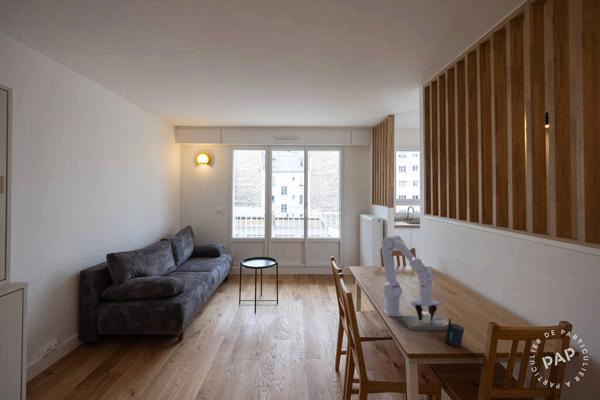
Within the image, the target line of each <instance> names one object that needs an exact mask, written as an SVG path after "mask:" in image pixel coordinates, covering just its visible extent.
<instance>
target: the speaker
mask: <svg viewBox="0 0 600 400" xmlns="http://www.w3.org/2000/svg"><path fill="white" fill-rule="evenodd" d="M451 319H452V318H451V317H449V319H448V322H449V323H448V328H447V330H446V335H445V344H446V345H447V344H449V345H451V346H453V347H457V348H458V347H460V348H461V346H462V342H463V337H464V332H465V327H464V326H462V325H459V324H457V323H452V321H451Z"/></svg>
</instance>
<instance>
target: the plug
mask: <svg viewBox="0 0 600 400" xmlns="http://www.w3.org/2000/svg"><path fill="white" fill-rule="evenodd" d="M420 322H421V323H422V324H431V314H430V313H429V311H422V320H420Z"/></svg>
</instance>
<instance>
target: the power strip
mask: <svg viewBox="0 0 600 400" xmlns="http://www.w3.org/2000/svg"><path fill="white" fill-rule="evenodd" d="M400 320H401V322H402V323H403V324H404V325H405V326H406V328H408V330H410V331H447V328H448V323H449V320H447V319H446V318H444V316H442V315H433V318H432V320H431V324H422V323H421V322H420V320H419V319H418V315H402V316H400Z"/></svg>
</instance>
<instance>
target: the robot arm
mask: <svg viewBox="0 0 600 400" xmlns="http://www.w3.org/2000/svg"><path fill="white" fill-rule="evenodd" d="M381 242H382V246H381V255H382V256H381V257H382V263H383V268H384V275H385V280H386V281H385V283H384V285H383V287H384V288H383V295H384V297H385V298H384V308H383V309H382V311H383V312H384V313H385V315H386V316H387V317H401V316H403V314H401V313H400V298H401V295H402V294H403V290H402V287H401V285H400V282H399V281H398V280H397V277H396V276H397V275H396V271H395V263H394V260H393V259H394V258H393V252H394V250H396V251H399V252H400V253H401V254H402V255H403V256H404V257H405V258H406V259H407V260H408V261H409V266H410V267H411V268H412V270H413V271H414V272H415V273H416V275H417V279H418V281H419V300H413V301H412V300H411V301H410V306H411V307H414V308H415V311H416V313H417V316H418V319H419V320H422V312H423V311H424V310H423V309H424V308H421V306H428V308H427V309H428V313H430V314H431V320H432V318H433V316H435V314H436V311H437V310H438V307H441V302H440V301H435V300H433V298H432V295H433V280H434V279H435V273H434V272H433V270H432V269H429V268H428V267H426V266H425V264H424V263H423V262H422V259H420V258H419V257H415V256H414V255H413V254H412V251H410V249H409V248H408V246H407V245H406V244H405V241H404V239H402V237H400V236H399V235H396V234H395V235H393V236H386V237H384V238H383V239H382V241H381ZM436 306H437V307H436Z"/></svg>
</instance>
